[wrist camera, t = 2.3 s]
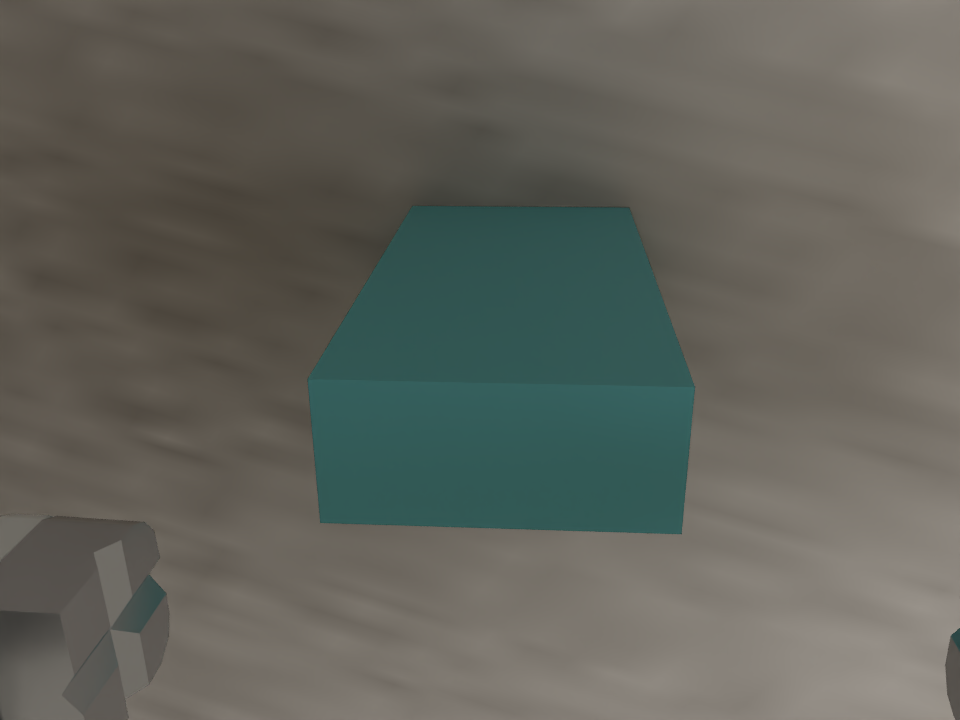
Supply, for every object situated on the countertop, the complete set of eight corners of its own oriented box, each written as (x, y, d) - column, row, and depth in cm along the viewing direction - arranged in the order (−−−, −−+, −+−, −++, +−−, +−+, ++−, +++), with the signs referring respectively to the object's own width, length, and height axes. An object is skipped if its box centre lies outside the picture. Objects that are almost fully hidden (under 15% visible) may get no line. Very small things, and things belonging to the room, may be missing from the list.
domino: (623, 298, 22) (681, 534, 12) (416, 295, 22) (320, 522, 13) (629, 207, 21) (695, 387, 11) (412, 205, 21) (307, 379, 12)
